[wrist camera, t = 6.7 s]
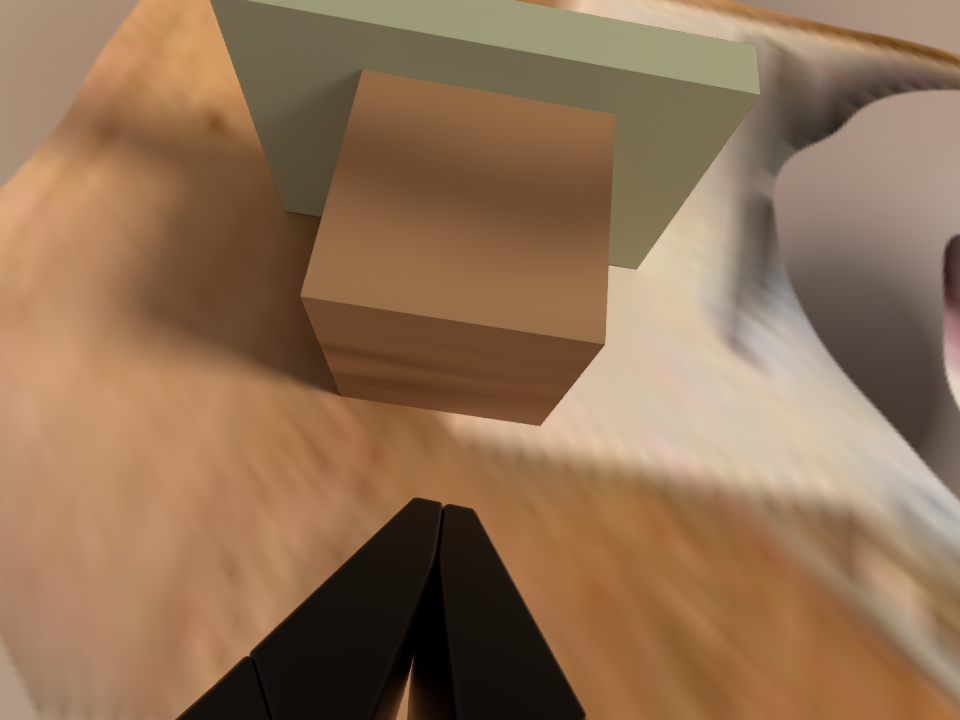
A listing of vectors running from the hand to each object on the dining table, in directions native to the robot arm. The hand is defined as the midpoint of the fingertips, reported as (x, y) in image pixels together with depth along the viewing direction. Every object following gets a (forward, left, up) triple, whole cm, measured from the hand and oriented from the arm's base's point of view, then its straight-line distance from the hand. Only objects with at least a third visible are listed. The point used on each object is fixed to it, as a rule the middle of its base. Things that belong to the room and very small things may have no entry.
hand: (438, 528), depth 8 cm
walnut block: (+9, +2, -14) cm, 17 cm away
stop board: (+14, +3, -14) cm, 20 cm away
